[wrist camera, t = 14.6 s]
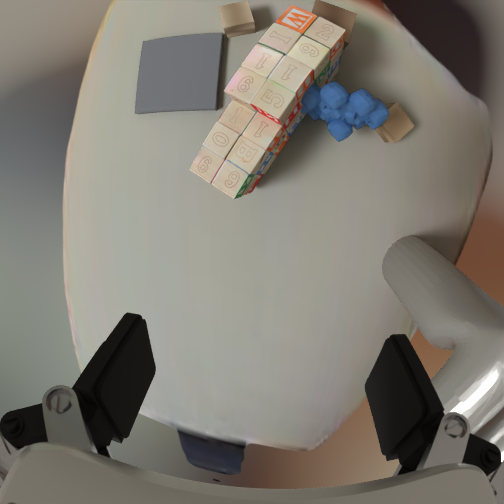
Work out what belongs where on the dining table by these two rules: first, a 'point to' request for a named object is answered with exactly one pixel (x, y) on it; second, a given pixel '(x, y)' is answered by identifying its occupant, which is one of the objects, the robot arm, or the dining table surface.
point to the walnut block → (336, 17)
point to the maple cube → (237, 19)
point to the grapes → (343, 109)
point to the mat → (179, 73)
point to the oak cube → (394, 124)
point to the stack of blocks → (268, 99)
